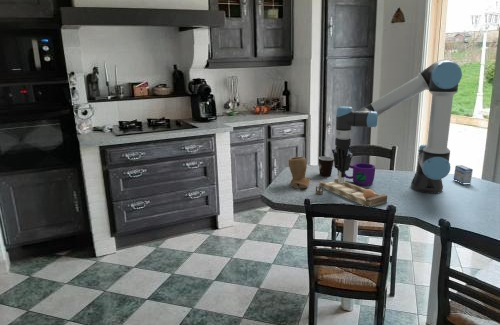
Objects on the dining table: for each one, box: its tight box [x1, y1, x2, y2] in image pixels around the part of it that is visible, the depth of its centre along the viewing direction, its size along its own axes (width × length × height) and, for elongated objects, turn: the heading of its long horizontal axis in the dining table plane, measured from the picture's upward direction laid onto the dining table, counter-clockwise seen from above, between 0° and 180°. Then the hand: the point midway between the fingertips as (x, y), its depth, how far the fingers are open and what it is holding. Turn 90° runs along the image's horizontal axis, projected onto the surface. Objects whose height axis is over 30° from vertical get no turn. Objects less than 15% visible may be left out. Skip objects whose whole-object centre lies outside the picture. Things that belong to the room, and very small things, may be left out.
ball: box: [363, 188, 374, 199], centre depth 185 cm, size 5×5×5 cm
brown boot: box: [288, 156, 311, 190], centre depth 207 cm, size 15×12×15 cm
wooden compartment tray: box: [318, 177, 388, 207], centre depth 195 cm, size 34×12×4 cm, turn 32°
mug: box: [344, 162, 376, 187], centre depth 211 cm, size 17×11×10 cm, turn 59°
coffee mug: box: [318, 156, 334, 178], centre depth 225 cm, size 12×9×10 cm
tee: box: [315, 185, 324, 196], centre depth 196 cm, size 3×3×4 cm
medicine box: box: [453, 164, 474, 184], centre depth 211 cm, size 8×4×9 cm, turn 13°
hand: (340, 182), depth 201 cm, fingers closed
